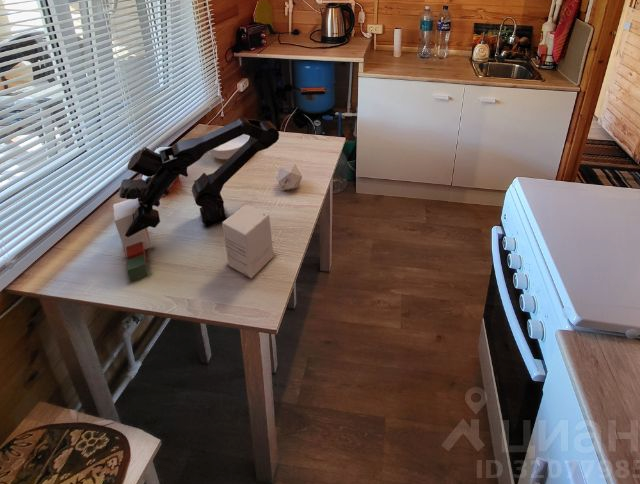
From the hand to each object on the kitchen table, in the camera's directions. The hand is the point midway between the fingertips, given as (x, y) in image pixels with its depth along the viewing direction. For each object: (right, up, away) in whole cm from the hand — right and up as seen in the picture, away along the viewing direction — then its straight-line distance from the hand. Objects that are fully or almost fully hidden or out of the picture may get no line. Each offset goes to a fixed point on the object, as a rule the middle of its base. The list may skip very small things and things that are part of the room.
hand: (126, 226), depth 108 cm
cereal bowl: (+13, +11, +50) cm, 52 cm away
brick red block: (+4, -9, -2) cm, 10 cm away
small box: (+2, -6, +3) cm, 7 cm away
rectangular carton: (+36, -9, -2) cm, 37 cm away
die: (+41, +3, +30) cm, 51 cm away
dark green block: (+7, -10, -6) cm, 14 cm away
